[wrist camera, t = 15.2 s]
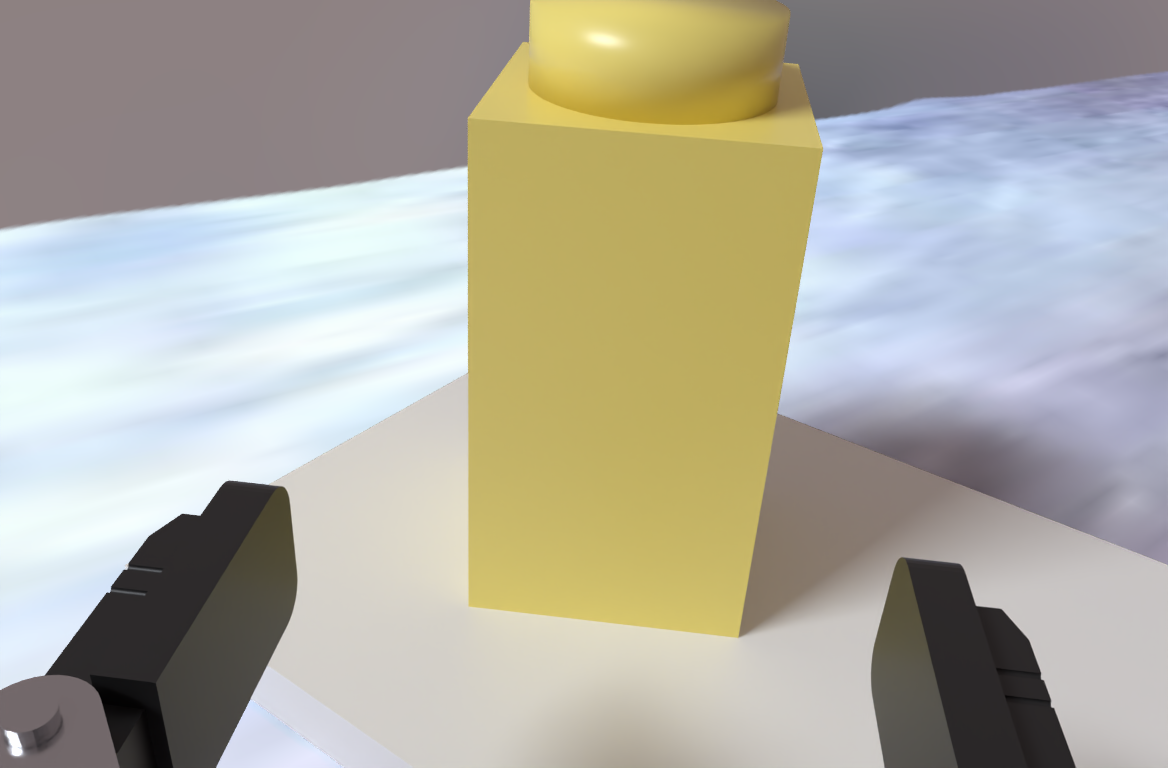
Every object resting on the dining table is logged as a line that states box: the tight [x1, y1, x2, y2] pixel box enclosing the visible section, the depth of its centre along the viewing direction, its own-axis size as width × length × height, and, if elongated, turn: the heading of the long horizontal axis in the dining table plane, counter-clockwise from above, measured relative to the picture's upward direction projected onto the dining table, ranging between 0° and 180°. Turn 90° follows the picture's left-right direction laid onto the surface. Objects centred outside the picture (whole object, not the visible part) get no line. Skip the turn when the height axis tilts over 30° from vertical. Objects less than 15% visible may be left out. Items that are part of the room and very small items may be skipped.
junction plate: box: [125, 373, 1168, 768], centre depth 22 cm, size 16×26×8 cm, turn 54°
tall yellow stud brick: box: [468, 0, 823, 638], centre depth 23 cm, size 6×6×13 cm
